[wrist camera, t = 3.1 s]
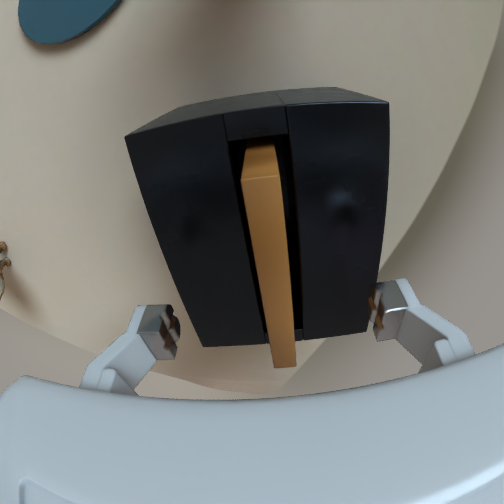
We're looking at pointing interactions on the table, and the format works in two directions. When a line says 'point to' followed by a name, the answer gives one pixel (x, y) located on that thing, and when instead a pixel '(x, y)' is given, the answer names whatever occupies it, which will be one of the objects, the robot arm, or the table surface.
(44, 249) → the table surface
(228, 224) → the toaster
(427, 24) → the table surface
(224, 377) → the table surface
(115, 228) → the table surface
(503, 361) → the robot arm
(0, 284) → the lion figurine
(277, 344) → the wooden board
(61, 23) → the plate
